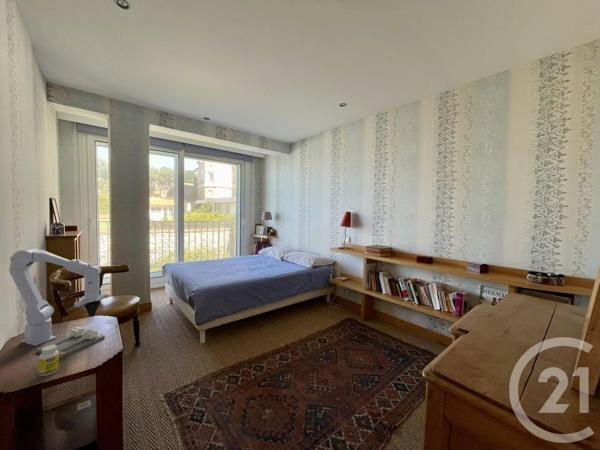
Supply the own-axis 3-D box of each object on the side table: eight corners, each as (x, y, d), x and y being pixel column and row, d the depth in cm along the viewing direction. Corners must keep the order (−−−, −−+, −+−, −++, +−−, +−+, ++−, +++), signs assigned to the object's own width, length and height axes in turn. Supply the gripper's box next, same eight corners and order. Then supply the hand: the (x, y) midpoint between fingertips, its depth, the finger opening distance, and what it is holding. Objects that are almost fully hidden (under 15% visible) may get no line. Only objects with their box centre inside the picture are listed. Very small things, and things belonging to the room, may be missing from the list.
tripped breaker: (84, 338, 117) (84, 331, 117) (90, 335, 120) (91, 328, 120) (90, 339, 116) (90, 332, 116) (97, 336, 119) (97, 329, 119)
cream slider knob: (70, 335, 118) (70, 328, 118) (77, 332, 121) (77, 326, 121) (76, 337, 117) (76, 330, 117) (83, 334, 120) (83, 327, 120)
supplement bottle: (45, 377, 92) (46, 352, 92) (34, 374, 93) (35, 349, 93) (62, 368, 98) (62, 344, 97) (51, 366, 99) (52, 342, 98)
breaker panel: (36, 352, 107) (36, 348, 107) (81, 333, 125) (81, 330, 124) (61, 359, 103) (61, 355, 103) (104, 338, 121) (104, 335, 121)
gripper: (82, 295, 115) (81, 323, 116) (112, 286, 129) (112, 311, 130) (71, 293, 117) (70, 320, 118) (102, 285, 131) (101, 309, 132)
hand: (91, 316), depth 124 cm, fingers closed
